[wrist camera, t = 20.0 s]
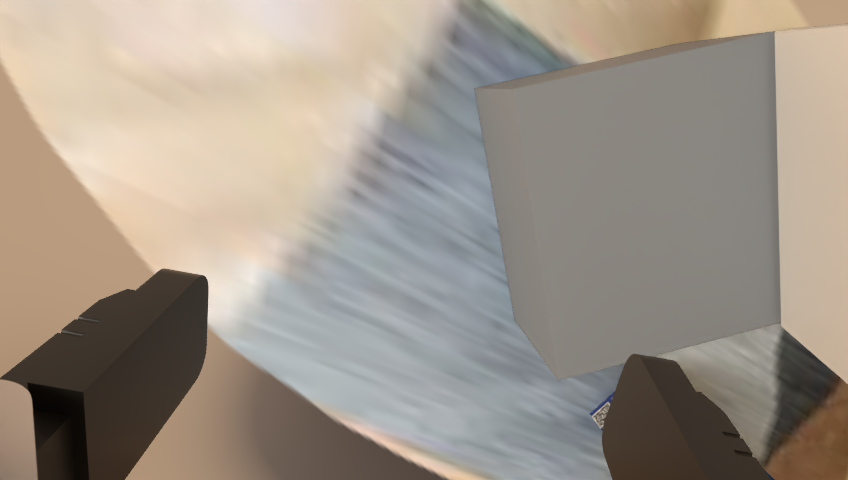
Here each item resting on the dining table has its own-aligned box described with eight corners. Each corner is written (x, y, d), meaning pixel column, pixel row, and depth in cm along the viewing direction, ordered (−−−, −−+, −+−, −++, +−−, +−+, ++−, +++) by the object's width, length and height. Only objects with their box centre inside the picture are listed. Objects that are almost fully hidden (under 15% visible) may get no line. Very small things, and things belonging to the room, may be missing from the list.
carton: (474, 88, 41) (512, 89, 32) (678, 43, 42) (775, 31, 33) (514, 320, 47) (557, 380, 37) (694, 274, 48) (782, 322, 38)
